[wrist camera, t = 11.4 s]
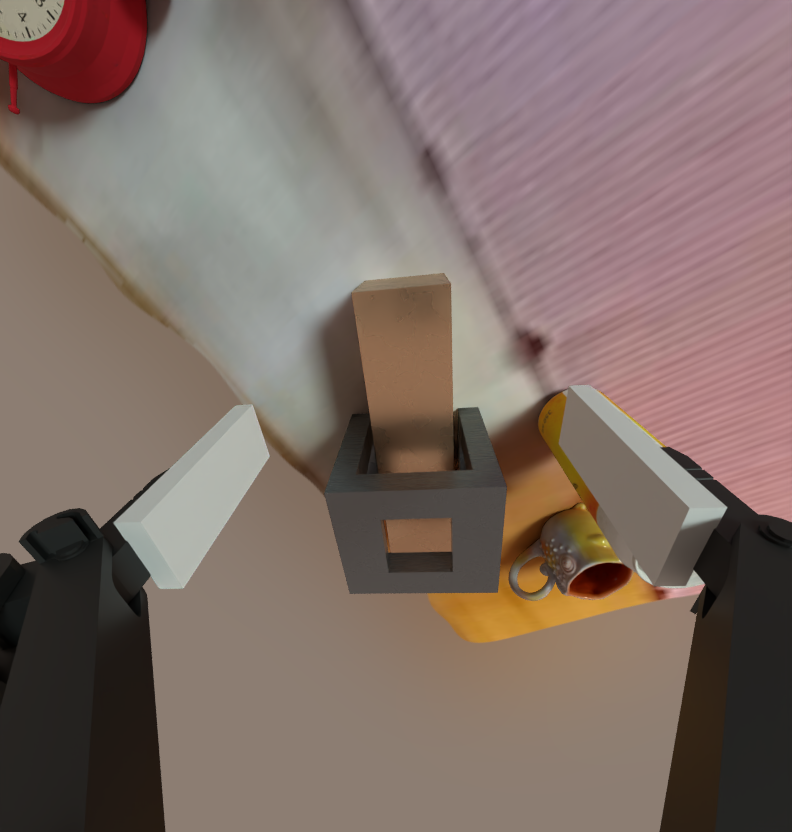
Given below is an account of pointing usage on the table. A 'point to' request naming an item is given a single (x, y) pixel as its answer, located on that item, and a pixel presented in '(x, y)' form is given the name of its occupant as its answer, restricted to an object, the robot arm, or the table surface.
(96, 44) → the alarm clock
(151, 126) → the table surface
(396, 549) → the banded wooden beam
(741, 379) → the table surface
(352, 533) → the collar block
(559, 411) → the yellow can
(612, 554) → the mug
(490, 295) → the table surface
